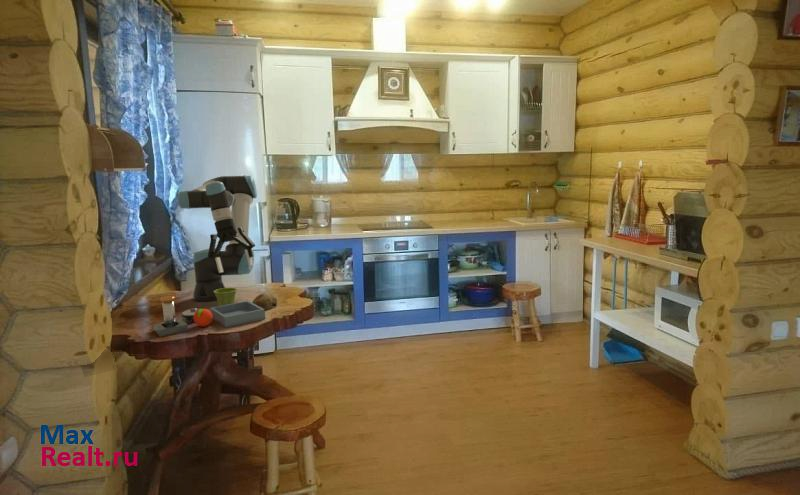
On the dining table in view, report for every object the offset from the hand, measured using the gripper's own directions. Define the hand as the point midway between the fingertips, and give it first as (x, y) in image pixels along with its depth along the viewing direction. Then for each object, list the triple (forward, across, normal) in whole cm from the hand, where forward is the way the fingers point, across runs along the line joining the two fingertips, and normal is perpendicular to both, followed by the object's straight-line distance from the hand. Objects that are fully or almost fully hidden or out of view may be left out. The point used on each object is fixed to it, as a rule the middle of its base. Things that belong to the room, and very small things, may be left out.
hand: (236, 269), depth 203 cm
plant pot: (+16, -12, +6) cm, 21 cm away
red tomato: (+19, -11, -17) cm, 28 cm away
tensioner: (+16, -20, -16) cm, 30 cm away
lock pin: (+17, -21, -22) cm, 35 cm away
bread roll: (+20, +4, +10) cm, 22 cm away
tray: (+20, -2, -6) cm, 21 cm away
